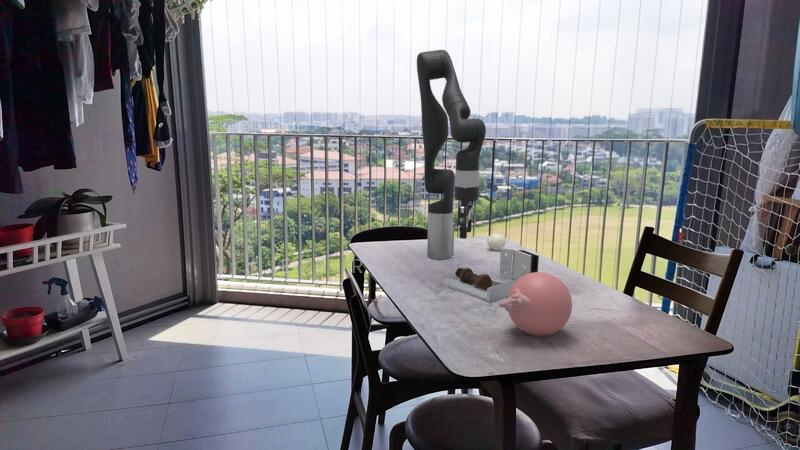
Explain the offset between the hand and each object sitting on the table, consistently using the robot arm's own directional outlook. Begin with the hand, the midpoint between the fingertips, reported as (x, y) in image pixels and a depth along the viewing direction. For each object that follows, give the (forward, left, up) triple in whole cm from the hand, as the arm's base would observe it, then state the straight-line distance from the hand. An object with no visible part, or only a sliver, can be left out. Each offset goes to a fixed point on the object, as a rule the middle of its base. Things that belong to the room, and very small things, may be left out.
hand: (465, 235), depth 168 cm
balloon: (+17, +40, -16) cm, 46 cm away
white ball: (-40, -22, -16) cm, 49 cm away
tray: (+2, +8, -16) cm, 17 cm away
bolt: (+2, +5, -15) cm, 16 cm away
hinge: (-15, +10, -16) cm, 24 cm away
